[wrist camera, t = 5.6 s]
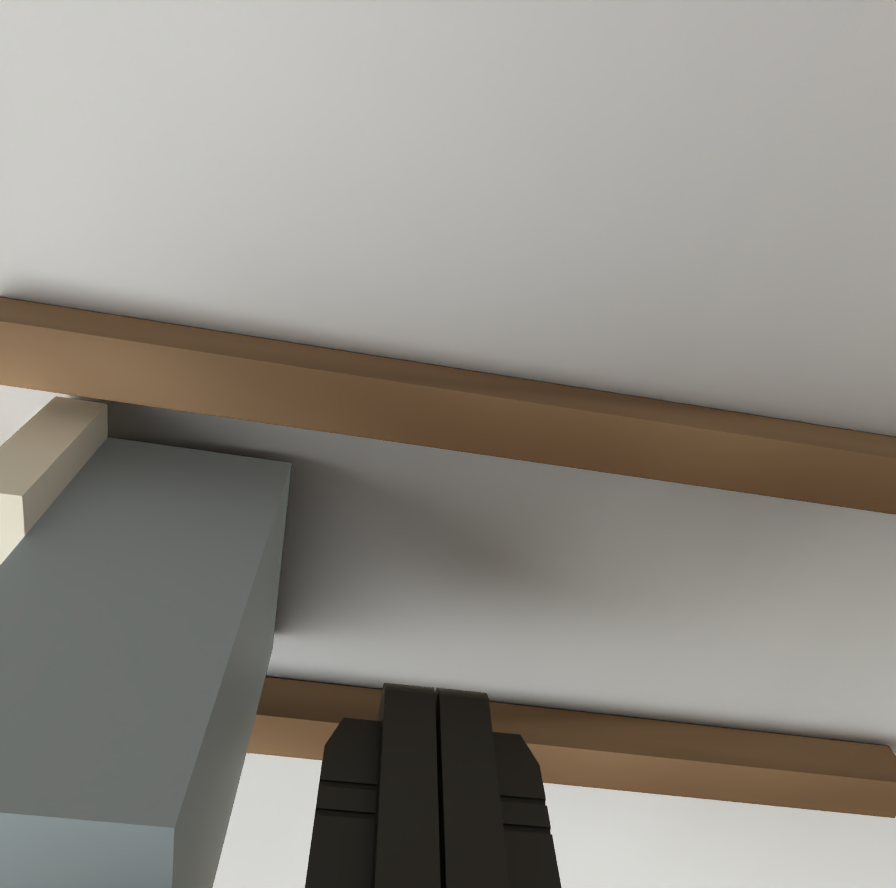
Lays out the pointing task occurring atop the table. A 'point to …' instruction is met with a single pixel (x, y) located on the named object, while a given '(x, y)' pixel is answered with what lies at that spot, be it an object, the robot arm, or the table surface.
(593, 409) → the pair of wooden rails
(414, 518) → the table surface
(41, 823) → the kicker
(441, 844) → the robot arm
